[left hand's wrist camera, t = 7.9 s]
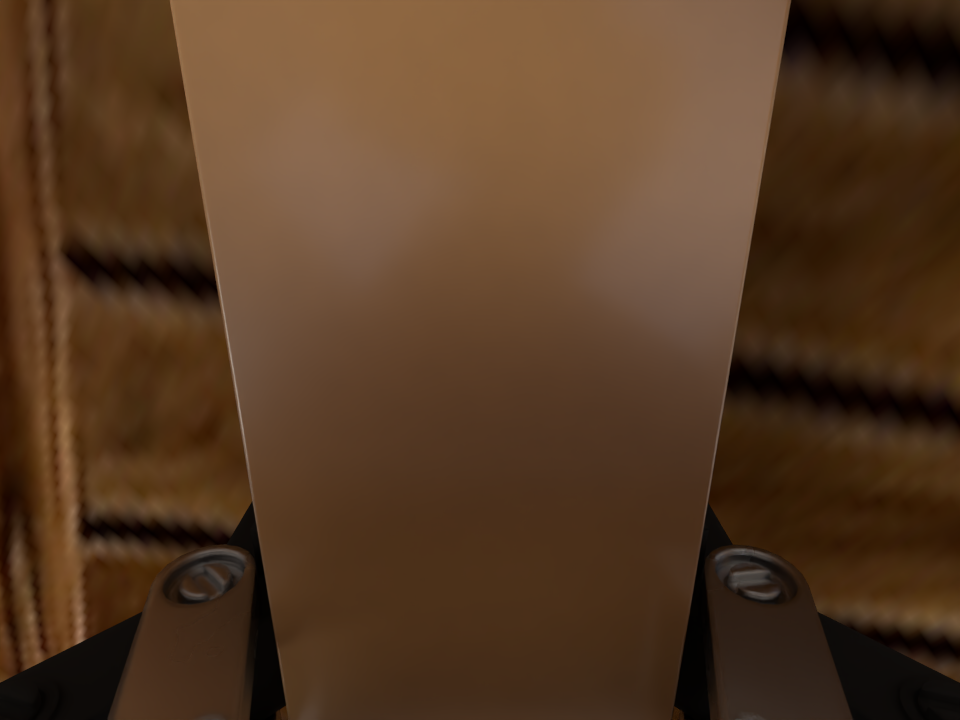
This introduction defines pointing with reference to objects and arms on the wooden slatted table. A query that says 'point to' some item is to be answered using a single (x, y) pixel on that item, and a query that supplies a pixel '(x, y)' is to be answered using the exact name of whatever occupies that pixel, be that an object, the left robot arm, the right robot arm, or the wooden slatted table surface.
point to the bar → (480, 331)
